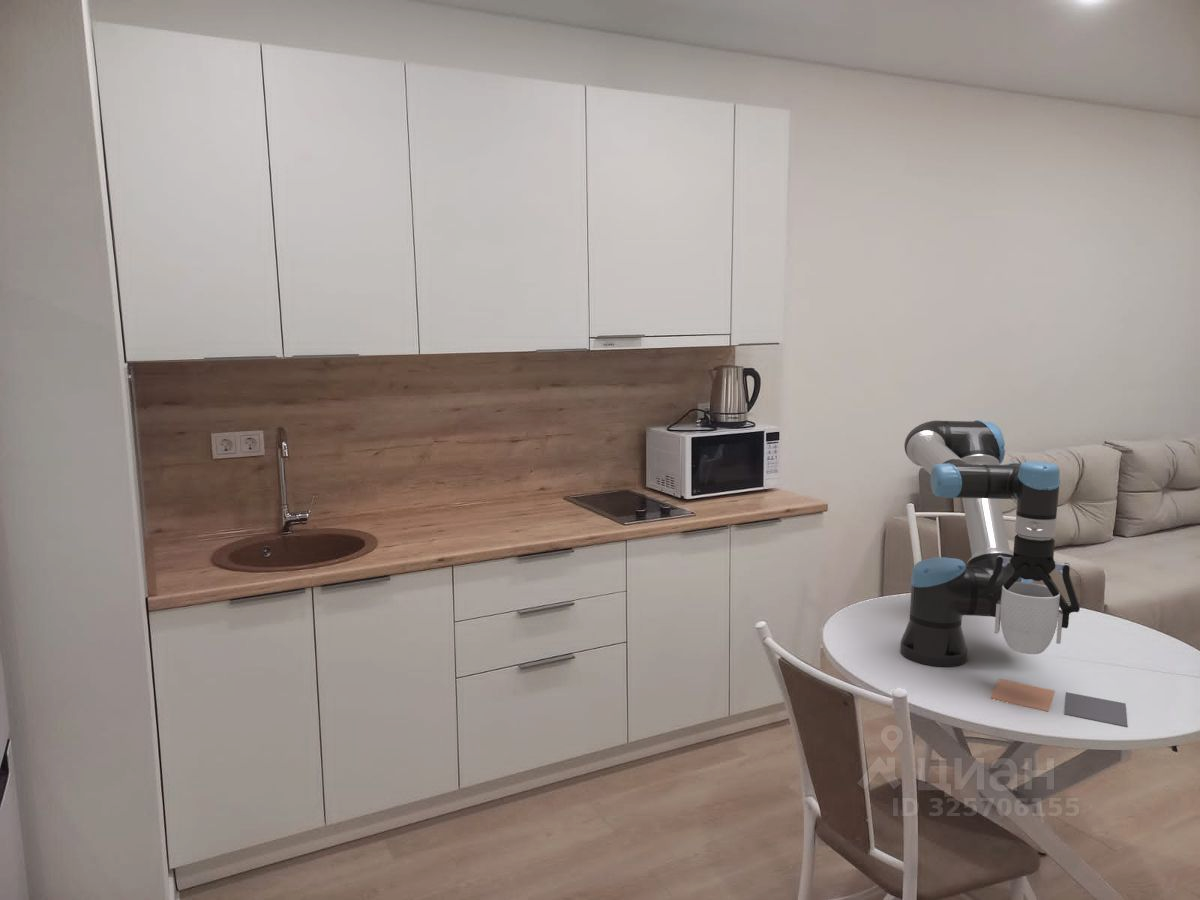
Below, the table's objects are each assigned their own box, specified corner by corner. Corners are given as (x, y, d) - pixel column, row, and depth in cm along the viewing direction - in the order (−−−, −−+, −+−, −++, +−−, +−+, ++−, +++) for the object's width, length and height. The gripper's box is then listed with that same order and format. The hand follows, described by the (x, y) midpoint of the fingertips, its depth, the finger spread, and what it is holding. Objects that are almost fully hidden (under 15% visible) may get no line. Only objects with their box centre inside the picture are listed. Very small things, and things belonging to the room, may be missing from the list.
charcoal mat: (1064, 717, 171) (1064, 713, 171) (1065, 695, 182) (1065, 692, 181) (1127, 730, 166) (1127, 726, 166) (1125, 707, 176) (1125, 703, 176)
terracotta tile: (989, 701, 179) (990, 697, 179) (999, 682, 189) (999, 678, 188) (1047, 714, 173) (1048, 710, 172) (1054, 694, 182) (1054, 690, 182)
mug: (977, 633, 187) (982, 576, 185) (1024, 632, 188) (1029, 575, 186) (1016, 659, 172) (1021, 598, 170) (1066, 658, 173) (1072, 597, 171)
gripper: (971, 532, 178) (965, 631, 181) (1099, 547, 166) (1090, 652, 169) (976, 526, 185) (970, 621, 188) (1099, 539, 173) (1091, 641, 176)
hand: (1027, 636), depth 179 cm, fingers closed on mug, 11 cm apart
